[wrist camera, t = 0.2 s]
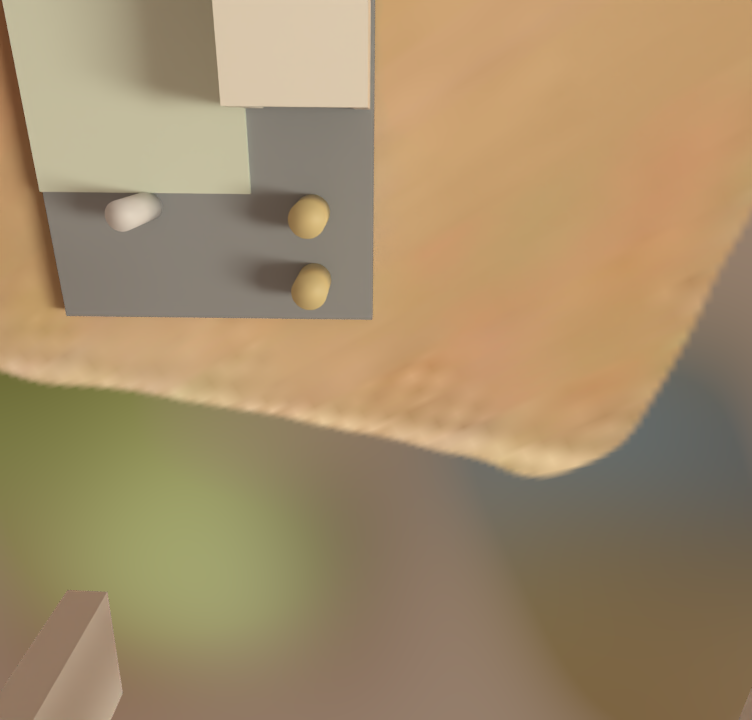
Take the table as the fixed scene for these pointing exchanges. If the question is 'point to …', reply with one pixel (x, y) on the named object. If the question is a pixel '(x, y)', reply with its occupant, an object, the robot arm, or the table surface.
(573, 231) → the table surface
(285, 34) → the block
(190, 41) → the board
